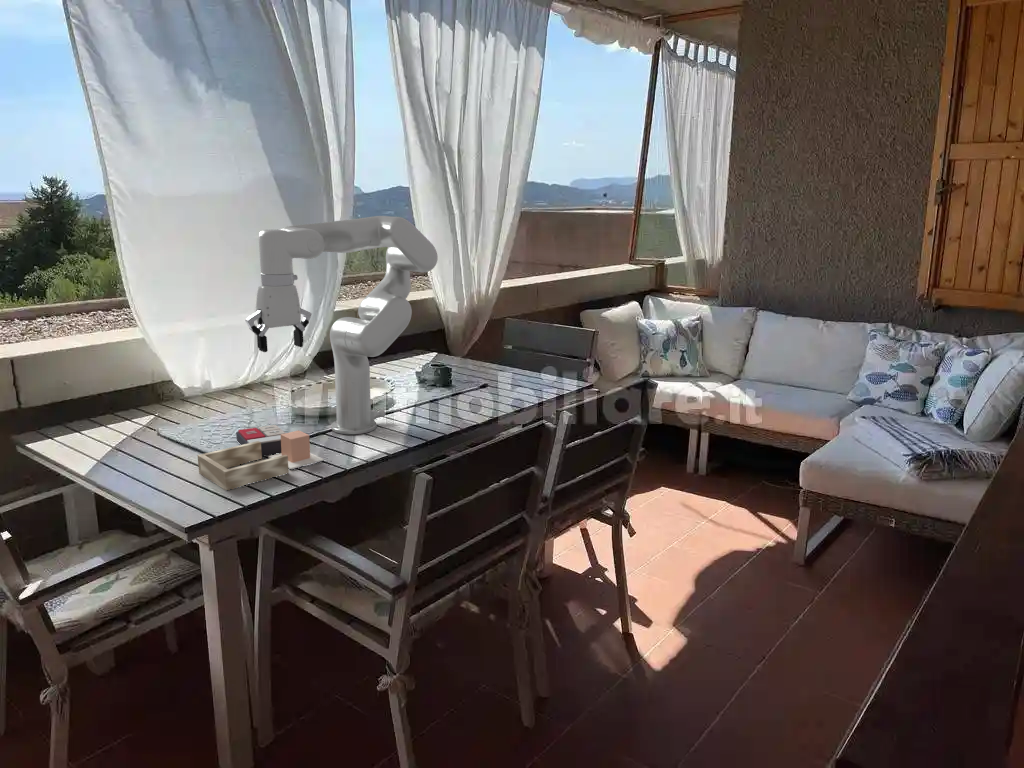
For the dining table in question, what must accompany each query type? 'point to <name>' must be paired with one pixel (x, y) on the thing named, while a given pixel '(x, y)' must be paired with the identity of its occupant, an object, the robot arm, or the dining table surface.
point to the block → (295, 446)
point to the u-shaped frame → (219, 461)
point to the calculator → (262, 438)
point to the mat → (293, 465)
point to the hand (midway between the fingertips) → (281, 348)
